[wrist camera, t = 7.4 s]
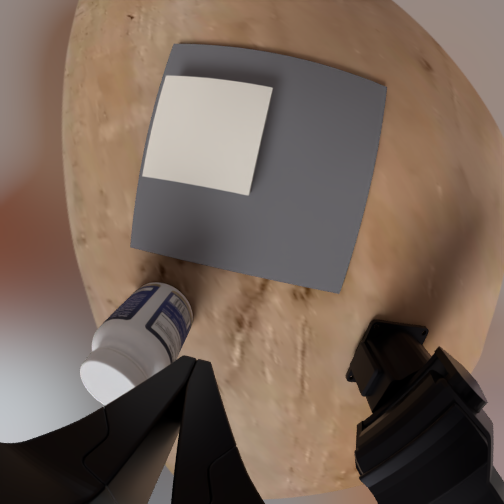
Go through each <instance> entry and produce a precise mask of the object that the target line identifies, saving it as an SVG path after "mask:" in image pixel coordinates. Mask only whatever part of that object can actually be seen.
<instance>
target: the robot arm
mask: <svg viewBox="0 0 504 504" xmlns="http://www.w3.org/2000/svg"><path fill="white" fill-rule="evenodd" d="M376 324H377V326H376V327H374V326H375V325H376ZM423 331H424V332H423ZM427 334H428V329H427V328H426V327H425V326H418V325H411V324H404V323H397V322H390V321H383V320H373V321H372V322H371V323H370V325H369V327H368V329H367V332H366V334H365V336H364V338H363V341H362V342H361V343H360V344H359V346H358V349H357V351H356V353H355V355H354V357H353V359H352V361H351V363H350V368H349V370H348V372H347V374H346V379H347V381H349V382H356V383H357V385H358V388H359V390H360V393H361V395H362V396H366V399H367V401H368V404H369V406H370V409H371V411H372V413H373V414H372V415H371V416H369V417H368V418H367V419H366V420H364V421H361V422H360V423H359V424H358V425H357V436H356V450H355V454H354V455H355V463H356V469H357V470H358V472H359V474H360V477H359V479H360V480H361V481H362V482H363V483H364V484H365V485H366V486H367V487H368V488H369V490H370V491H371V492H372V494H373V495H374V497H375V499H376V500H377V502H378V504H504V481H503V480H502V478H501V477H500V475H499V474H498V472H497V471H496V469H495V468H494V466H493V423H492V421H491V420H490V418H489V417H488V416H487V414H486V413H485V412H484V411H483V409H482V408H483V407H484V406H485V405H486V404H487V403H488V402H487V400H486V398H485V396H484V394H483V392H482V390H481V388H480V386H479V384H478V383H477V381H476V380H475V379H474V378H473V377H472V375H471V374H470V373H469V372H468V371H467V370H466V369H465V368H464V367H463V366H462V365H461V364H460V363H459V362H458V361H457V360H455V359H454V358H453V357H452V356H451V355H449V354H448V353H447V352H446V351H445V350H443V349H442V348H441V347H440V346H439V347H438V348H437V349H436V350H435V351H434V352H435V353H434V354H433V356H431V355H430V354H429V353H428V351H427V350H426V349H425V348H424V347H423V345H422V344H423V342H424V340H425V338H426V336H427ZM350 376H352V377H350ZM178 433H179V438H178V445H177V453H176V462H175V470H174V480H173V489H172V499H171V504H265V503H264V501H263V500H262V498H261V496H260V495H259V493H258V491H257V490H256V488H255V486H254V484H253V482H252V481H251V479H250V477H249V475H248V473H247V471H246V468H245V466H244V463H243V461H242V459H241V456H240V453H239V450H238V448H237V447H236V442H235V439H234V436H233V433H232V430H231V427H230V424H229V421H228V418H227V415H226V412H225V408H224V405H223V402H222V399H221V395H220V392H219V389H218V385H217V382H216V378H215V375H214V371H213V368H212V364H211V362H209V361H205V360H201V359H198V360H196V358H193V357H189V356H185V355H184V356H182V357H180V358H179V359H177V360H176V361H174V362H173V363H171V364H170V365H168V366H167V367H165V368H164V369H162V370H161V371H159V372H157V373H156V374H154V375H153V376H151V377H150V378H148V379H147V380H145V381H144V382H142V383H140V384H139V385H137V386H136V387H134V388H133V389H131V390H129V391H128V392H126V393H125V394H123V395H121V396H120V397H118V398H117V399H115V400H113V401H112V402H110V403H108V404H107V405H105V406H104V407H102V408H100V409H98V410H97V411H95V412H93V413H91V414H90V415H88V416H86V417H84V418H82V419H80V420H78V421H76V422H74V423H72V424H70V425H67V426H65V427H62V428H60V429H57V430H55V431H52V432H49V433H47V434H44V435H41V436H38V437H36V438H33V439H30V440H27V441H23V442H18V443H1V442H0V504H148V501H149V499H150V497H151V494H152V492H153V490H154V488H155V485H156V483H157V481H158V478H159V476H160V474H161V472H162V469H163V467H164V465H165V463H166V460H167V458H168V456H169V454H170V451H171V449H172V447H173V444H174V442H175V440H176V438H177V435H178Z"/></svg>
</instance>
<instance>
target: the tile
mask: <svg viewBox="0 0 504 504" xmlns="http://www.w3.org/2000/svg"><path fill="white" fill-rule="evenodd" d="M272 92H273V88H272V87H266V86H261V85H256V84H250V83H243V82H237V81H229V80H221V79H212V78H202V77H189V76H168V75H166V77H165V81H164V84H163V87H162V91H161V94H160V98H159V102H158V106H157V109H156V113H155V117H154V121H153V126H152V130H151V134H150V139H149V143H148V148H147V153H146V158H145V163H144V169H143V175H142V176H144V177H150V178H157V179H163V180H169V181H175V182H181V183H186V184H192V185H197V186H203V187H208V188H213V189H218V190H223V191H228V192H233V193H238V194H243V195H248V196H249V195H250V192H251V187H252V182H253V178H254V173H255V169H256V164H257V160H258V155H259V151H260V146H261V142H262V138H263V133H264V129H265V124H266V120H267V116H268V111H269V107H270V103H271V98H272Z"/></svg>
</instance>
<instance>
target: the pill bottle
mask: <svg viewBox="0 0 504 504" xmlns="http://www.w3.org/2000/svg"><path fill="white" fill-rule="evenodd" d="M192 322H193V314H192V309H191V306H190V304H189V302H188V300H187V299H186V297H185V296H184V295H183V294H182V293H181V292H180V291H179V290H177V289H176V288H174V287H172V286H170V285H168V284H165V283H159V282H154V283H148V284H145V285H143V286H142V287H140V288H139V289H138V290H136V291H135V292H134V293H133V294H132V295H131V296H130V297H129V298H128V299H127V300H126V301H125V302H124V303H123V304H122V305H121V306H120V307H119V308H118V309H117V310H116V311H115V312H114V313H113V314H112V315H111V316H110V317H109V318H108V319H107V320H106V321H105V322H104V323H103V324H102V325H101V326H100V327H99V328H98V329H97V331H96V332H95V334H94V337H93V341H92V352H91V353H90V355H89V356H88V357H87V359H86V360H85V361H84V362H83V364H82V365H81V368H80V376H81V379H82V381H83V384H84V385H85V387H86V389H87V390H88V391H89V393H90V394H91V395H92V396H93V397H94V398H95V399H97V400H98V401H99V402H100V403H102V404H103V405H107V404H108V403H110V402H112V401H113V400H115V399H117V398H118V397H120V396H121V395H123V394H125V393H126V392H128V391H129V390H131V389H133V388H134V387H136V386H137V385H139V384H140V383H142V382H144V381H145V380H147V379H148V378H150V377H151V376H153V375H154V374H156V373H157V372H159V371H161V370H162V369H164V368H165V367H167V366H168V365H170V364H171V363H173V362H174V361H176V359H177V357H178V355H179V352H180V350H181V348H182V346H183V344H184V342H185V339H186V337H187V335H188V333H189V331H190V328H191V326H192Z"/></svg>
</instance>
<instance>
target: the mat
mask: <svg viewBox="0 0 504 504" xmlns="http://www.w3.org/2000/svg"><path fill="white" fill-rule="evenodd" d="M166 75H168V76H189V77H202V78H212V79H221V80H229V81H237V82H243V83H250V84H256V85H261V86H266V87H272V88H273V92H272V98H271V103H270V107H269V111H268V116H267V120H266V124H265V129H264V133H263V138H262V142H261V146H260V151H259V155H258V160H257V164H256V169H255V173H254V178H253V182H252V187H251V192H250V195H249V196H248V195H243V194H238V193H233V192H228V191H223V190H218V189H213V188H208V187H203V186H197V185H192V184H186V183H181V182H175V181H169V180H163V179H157V178H150V177H144V176H142V175H143V169H144V163H145V158H146V153H147V148H148V143H149V139H150V134H151V130H152V126H153V121H154V117H155V113H156V109H157V106H158V102H159V98H160V94H161V91H162V87H163V84H164V81H165V77H166ZM386 92H387V87H386V86H383V85H381V84H378V83H376V82H373V81H371V80H368V79H365V78H363V77H360V76H357V75H354V74H351V73H348V72H345V71H342V70H339V69H336V68H333V67H330V66H326V65H323V64H319V63H315V62H312V61H308V60H304V59H299V58H295V57H291V56H286V55H281V54H276V53H271V52H265V51H259V50H252V49H245V48H237V47H228V46H217V45H201V44H174V45H173V47H172V50H171V53H170V56H169V59H168V62H167V65H166V68H165V71H164V74H163V77H162V81H161V84H160V87H159V91H158V94H157V98H156V102H155V105H154V109H153V113H152V117H151V121H150V125H149V130H148V134H147V139H146V143H145V148H144V153H143V158H142V164H141V169H140V175H139V181H138V187H137V194H136V201H135V208H134V216H133V225H132V234H131V245H130V247H132V248H136V249H140V250H144V251H148V252H152V253H156V254H160V255H164V256H168V257H173V258H177V259H181V260H185V261H189V262H194V263H198V264H202V265H207V266H211V267H215V268H220V269H224V270H229V271H233V272H238V273H242V274H247V275H251V276H256V277H261V278H265V279H270V280H275V281H279V282H284V283H289V284H294V285H298V286H303V287H308V288H313V289H318V290H323V291H328V292H333V293H338V294H339V293H340V291H341V288H342V285H343V282H344V279H345V275H346V272H347V269H348V266H349V263H350V260H351V256H352V253H353V250H354V246H355V243H356V239H357V236H358V232H359V229H360V225H361V221H362V217H363V213H364V210H365V206H366V201H367V197H368V193H369V189H370V184H371V180H372V175H373V171H374V166H375V161H376V156H377V151H378V145H379V140H380V134H381V128H382V121H383V115H384V108H385V100H386Z"/></svg>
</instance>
